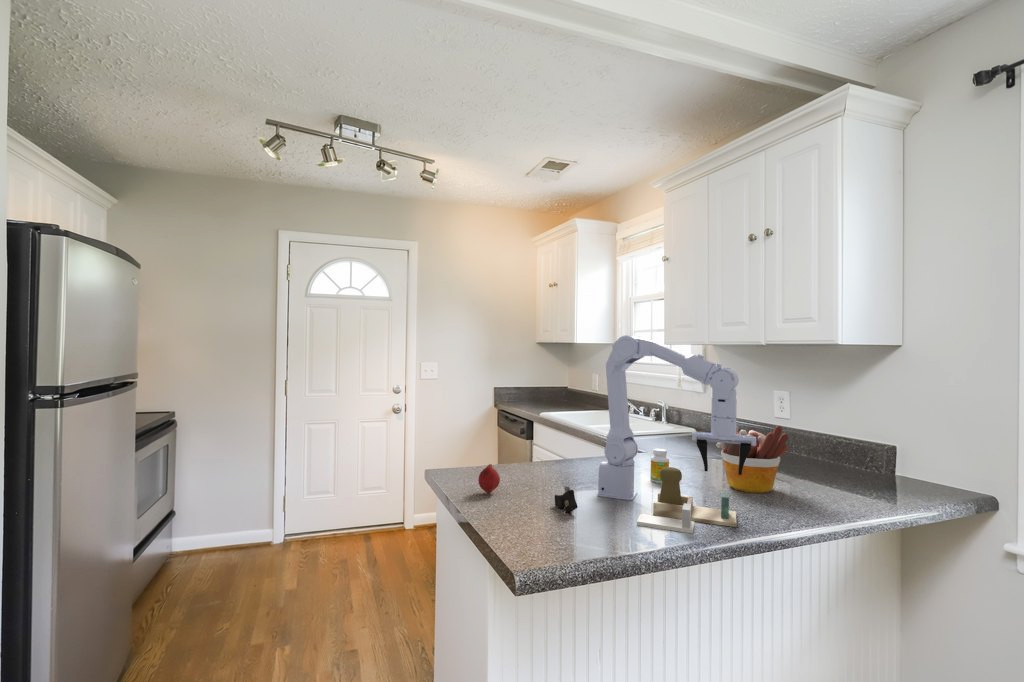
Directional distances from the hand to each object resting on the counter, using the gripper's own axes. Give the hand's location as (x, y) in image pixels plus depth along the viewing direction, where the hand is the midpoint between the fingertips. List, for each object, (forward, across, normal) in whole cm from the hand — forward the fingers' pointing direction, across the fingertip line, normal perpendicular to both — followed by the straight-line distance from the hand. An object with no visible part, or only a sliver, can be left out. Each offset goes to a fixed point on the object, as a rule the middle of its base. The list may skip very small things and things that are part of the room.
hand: (722, 472), depth 125 cm
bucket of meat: (+11, +8, +31) cm, 34 cm away
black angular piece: (+11, -36, -15) cm, 40 cm away
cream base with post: (+10, -12, -15) cm, 22 cm away
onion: (+10, -59, -9) cm, 61 cm away
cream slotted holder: (+10, -6, -4) cm, 13 cm away
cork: (+11, -12, -4) cm, 17 cm away
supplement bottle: (+11, -18, +27) cm, 34 cm away
